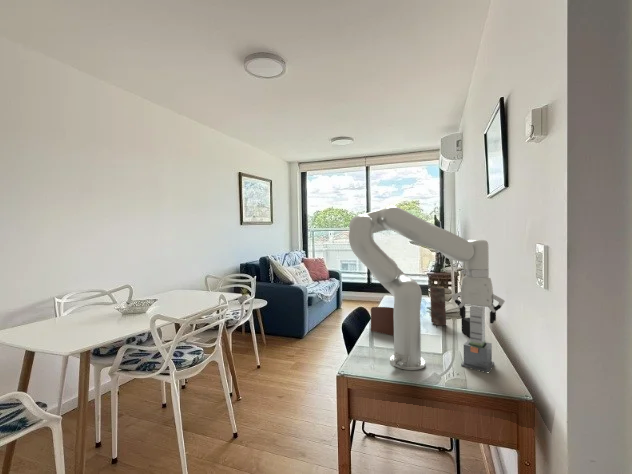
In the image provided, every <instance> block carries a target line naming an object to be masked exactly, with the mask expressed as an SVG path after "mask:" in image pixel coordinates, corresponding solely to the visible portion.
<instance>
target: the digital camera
mask: <svg viewBox="0 0 632 474" xmlns="http://www.w3.org/2000/svg"><path fill="white" fill-rule="evenodd" d="M461 333H463V334H464V335H465V336H467V337H469V338H470V317H465V318H464V319H461Z"/></svg>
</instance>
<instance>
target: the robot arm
mask: <svg viewBox="0 0 632 474" xmlns="http://www.w3.org/2000/svg"><path fill="white" fill-rule="evenodd" d="M348 227H349V231H348V243H349V247H350V248H351V251H352V253H354V255H355V257H356V258H357V259H359V261H360V262H361V263H362V264H363V266H365V267H366V269H368V270H369V271H370V274H371V275H372V276H373V277H374V278H375V279H376V280H377V282H379V283H380V284H381V286H383V287H384V289H385V290H387V291H388V292H389V293H390V294H391V296H393V301H394V302H393V308H394V312H393V319H394V336H393V354H392V355H391V356H390V358H389V364H390V365H391V366H393V367H395V368H397V369H400V370H405V371H418V370H421V369H424V368H425V367H426V360H425V359H424V358H423V357H422V346H421V345H422V344H421V343H422V342H421V341H422V339H421V338H422V337H421V336H422V335H421V334H422V333H421V331H422V330H421V309H422V307H421V306H422V298H423V296H422V294H423V293H422V289H421V286H420V284H419V283H418V282H417V281H416V280H414V279H413V278H412V277H409V276H407V274H406V273H404V271H403V270H401V269H400V268H399V267H398V264H397V262H396V261H395V260H394V259H392V258H391V257H390V256H389V255H388V254H387V253H386V252H385V251H384V250H383V249H381V247H380V246H379V244H377V243H376V241H375V240H374V238H373V234H377V233H380V232H383V231H386V230H390V231H393V232H394V233H397V234H399V235H401V236H402V237H404V238H406V239H408V240H410V241H412V242H414V243H416V244H418V245H421V246H425V247H429V248H432V249H433V250H436V251H439V252H441V253H442V254H441V255H442V256H444V257H445V258H446V259H448V260H452V261H457V262H464V263H465V268H464V269H461V270H460V271H461V274H464V276H463V277H462V280H461V281H462V282H461V289H460V291H458V292H457V293H456V292H455V293H454V294H452V295H451V296H452V299H453V300H454V303H455V304H456V305H457V307H458V308H459V316H460V318H461V320H462V319H464V318H467V317H466V316H467V315H466V309H467V308H466V306H465V305H469V306H472V305H475V306H483V307H485V308H487V307H488V309H489V310H490V312H489V324H494V323H495V322H496V319H497V312H498V310H500V309H501V308H502V306H503V305H504V304H505V302H506V301H505V300H504V299H503V298H501V297H499V296H498V295H497V294H496V295H495V294H494V290H493V283H492V279H491V277H490V273H489V272H490V270H489V269H490V268H489V267H490V266H489V242H488V241H487V240H485V239H465V238H463V237H461V236H459V235H457V234H456V233H453V232H450V231H448V230H446V229H444V228H442V227H440V226H437V225H435V224H433V223H431V222H428V221H426V220H424V219H422V218H420V217H418V216H416V215H415V214H413V213H410V212H409V211H406V210H405V209H402V208H401V207H399V206H395V205H389V206H386V207H382V208H380V209H377V210H374V211H370V212H366V213H362V214H361V213H360V214H357V215H355V216H353V217H352V218H351V220H350V221H349V226H348ZM459 297H460V299H459ZM494 300H495V301H497V303H498V304H497V305H496V306H495V305H494V302H495V301H494Z"/></svg>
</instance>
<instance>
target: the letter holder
mask: <svg viewBox="0 0 632 474" xmlns="http://www.w3.org/2000/svg"><path fill="white" fill-rule="evenodd" d="M393 312H394V307H387V306H372V307H371V308H370V332H374V333H379V334H384V335H389V336H393V337H394V319H393Z"/></svg>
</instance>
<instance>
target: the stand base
mask: <svg viewBox="0 0 632 474" xmlns="http://www.w3.org/2000/svg"><path fill="white" fill-rule="evenodd" d="M492 344H493V343H492V342H487V341H486V344H485V345H484V346H483V348H482V347H478V346H473V345H470V338H468V339H467V341H466V342H465V343H464V344H463V361H462V363H461V365H460V366H461V367H462V368H463V367H464V368H467V369H470V368H472V369H471V370H474V369H476V370H475V371H477V370H480V371H479V372H481V371H484V372H483V373H485V372H489V371H490V370H492V369H493V368H494V366H495V361H493V358H492V356H493V355H492V354H493V353H492V350H493V349H492ZM492 367H493V368H492ZM491 368H492V369H491ZM490 372H491V371H490ZM490 372H489V373H490Z"/></svg>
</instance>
